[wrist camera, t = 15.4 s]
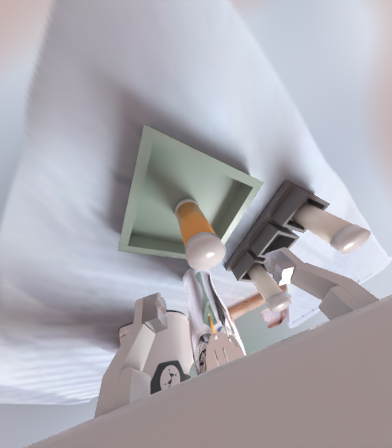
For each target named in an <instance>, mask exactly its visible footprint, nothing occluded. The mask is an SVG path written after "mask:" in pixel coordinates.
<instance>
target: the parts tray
mask: <svg viewBox="0 0 392 448" xmlns="http://www.w3.org/2000/svg"><path fill="white" fill-rule="evenodd" d="M263 183H264V182H262V181H260V180H258V179H256V178H254V177H252V176H250V175H248V174H245V173H243V172H241V171H239V170H237V169H235V168H233V167H231V166H229V165H227V164H225V163H223V162H221V161H219V160H217V159H215V158H212V157H210V156H208V155H206V154H204V153H202V152H200V151H198V150H196V149H194V148H192V147H190V146H188V145H186V144H184V143H182V142H180V141H177V140H175V139H173V138H171V137H169V136H167V135H165V134H163V133H161V132H159V131H157V130H155V129H153V128H151V127H149V126H147V125H145V124H144V127H143V131H142V136H141V141H140V146H139V151H138V155H137V160H136V165H135V170H134V175H133V179H132V184H131V189H130V194H129V199H128V203H127V208H126V213H125V218H124V222H123V227H122V232H121V237H120V242H119V246H118V251H124V252H132V253H140V254H148V255H155V256H163V257H171V258H179V259H187V258H186V254H185V246H184V242H183V238H182V235H181V231H180V227H179V223H178V220H177V218H176V215H175V205H176V204H177V202H178V201H179V200H181V199H183V198H192V199H194V200H196V201H197V203H198V204H199V206H200V208H201V211H202V212H203V214H204V216H205V217H206V219H207V221H208V222H209V224H210V226H211V227H212V229H213V231H214V232H215V234H216V235H217V236H218V237H219V238H220V240H221V242H222V243H223V245H224V244H225V243H226V241H227V240H228V238H229V236H230V235H231V233H232V232H233V230H234V229H235V227H236V225H237V224H238V222H239V221H240V219H241V218H242V216H243V215H244V213H245V211H246V210H247V208H248V207H249V205H250V204H251V202H252V200H253V199H254V197H255V196H256V194H257V193H258V191H259V189H260V188H261V186H262V185H263Z"/></svg>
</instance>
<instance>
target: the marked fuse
mask: <svg viewBox="0 0 392 448" xmlns="http://www.w3.org/2000/svg"><path fill="white" fill-rule="evenodd" d="M175 215H176V218H177V220H178V223H179V227H180V231H181V235H182V238H183V242H184V246H185V254H186V258H187V262H188V264H189V266H190V267H191V268H193V269H196V270H207V269H210V268H213V267H215V266H216V265H218V264H219V263H220V262H221V261H222V260H223V258H224V256H225V253H226V249H225V247H224V245H223V243H222V242H221V240H220V238H219V237H218V236H217V235H216V234H215V232H214V231H213V229H212V227H211V226H210V224H209V222H208V221H207V219H206V217H205V216H204V214H203V212H202V211H201V208H200V206H199V204H198V203H197V201H196V200H194V199H192V198H183V199H181V200H179V201H178V202H177V204H176V205H175Z"/></svg>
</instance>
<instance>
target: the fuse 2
mask: <svg viewBox="0 0 392 448" xmlns="http://www.w3.org/2000/svg"><path fill="white" fill-rule="evenodd" d="M291 220H293V221H295V222H297V223H298V224H300V225H301V226H303V227H304V228H306V229H307V230H309V231H310V232H312V233H314V234H315V235H317V236H318V237H320V238H321V239H323V240H324V241H326V242H327V243H329V244H330V245H331V246H332V247H334V248H335V249H337V250H338V251H340V252H341V253H343V254H346V253H349V252H352V251H354V250H355V249H357V248H358V247H360V246H361V245H362V244H363V243H364V242H365V241H366V240H367V239H368V238H369V236H370V231H368V230H366V229H364V228H362V227H360V226H358V225H355V224H354V225H353V224H351V223H349V222H347V221H345V220H343V219H341V218H339V217H336V216H334V215H332V214H330V213H328V212H326V211H324V210H322V209H319V208H317V207H315V206H313V205H311V204H309V203H308V202H306V201H305V202H304V203H303V204H302V205H301V207H300V208H299V209H298V210H297V211H296V213H295V214H294V215H293V216H292V218H291Z"/></svg>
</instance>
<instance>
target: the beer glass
mask: <svg viewBox="0 0 392 448" xmlns="http://www.w3.org/2000/svg"><path fill="white" fill-rule="evenodd" d="M182 280H183V284H184V286H185V289H186V291H187V295H188V308H189V334H190V342H191V349H192V354H193V359H194V364H195V368H196V372H197V375H199V374H202V373H204V372H207V371H209V370H211V369H214V368H216V367H219V366H221V365H224V364H226V363H228V362H231V361H233V360H236V359H238V358H240V357H243V356H245V355H246V352H245V349H244V346H243V343H242V341H241V338H240V335H239V333H238V330H237V328H236V326H235V323H234V321H233V319H232V317H231V315H230V313H229V311H228V310H227V308H226V306H225V305H224V303H223V301H222V300H221V298H220V296H219V294H218V293H217V291H216V289H215V287H214V284H213V280H212V274H211V270H210V269H207V270H196V269H193V268H191V269H189V270H187V271H186V272H185V273H184V275H183V278H182Z"/></svg>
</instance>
